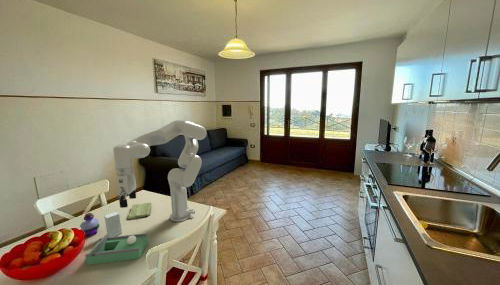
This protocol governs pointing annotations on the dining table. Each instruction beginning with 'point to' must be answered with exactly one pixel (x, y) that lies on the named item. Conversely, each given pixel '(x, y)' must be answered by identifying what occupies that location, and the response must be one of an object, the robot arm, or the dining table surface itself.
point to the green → (116, 249)
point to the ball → (131, 240)
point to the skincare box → (113, 224)
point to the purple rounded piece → (90, 225)
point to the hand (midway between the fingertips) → (128, 202)
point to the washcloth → (140, 210)
